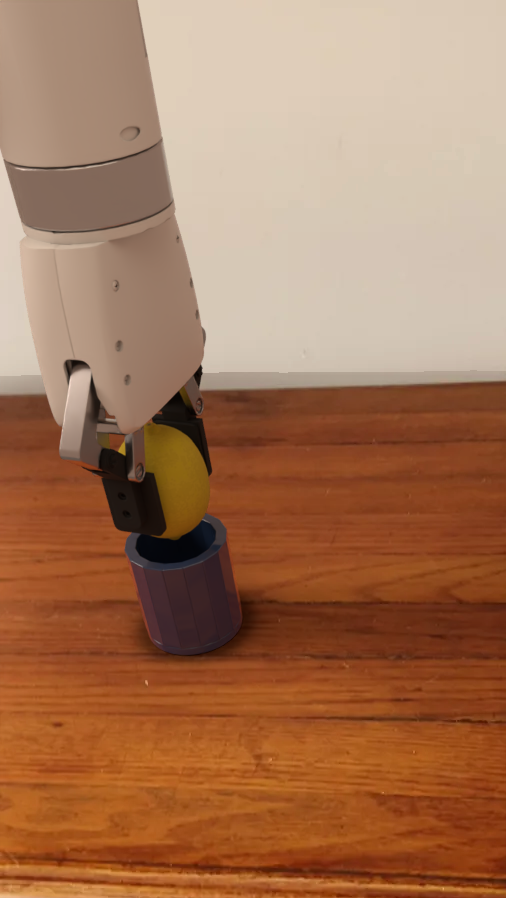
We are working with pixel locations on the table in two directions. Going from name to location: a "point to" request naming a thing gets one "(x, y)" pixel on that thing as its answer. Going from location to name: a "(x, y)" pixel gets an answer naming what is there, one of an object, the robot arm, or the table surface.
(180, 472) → the lemon
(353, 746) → the table surface
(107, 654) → the table surface
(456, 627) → the table surface
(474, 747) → the table surface
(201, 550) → the cup
